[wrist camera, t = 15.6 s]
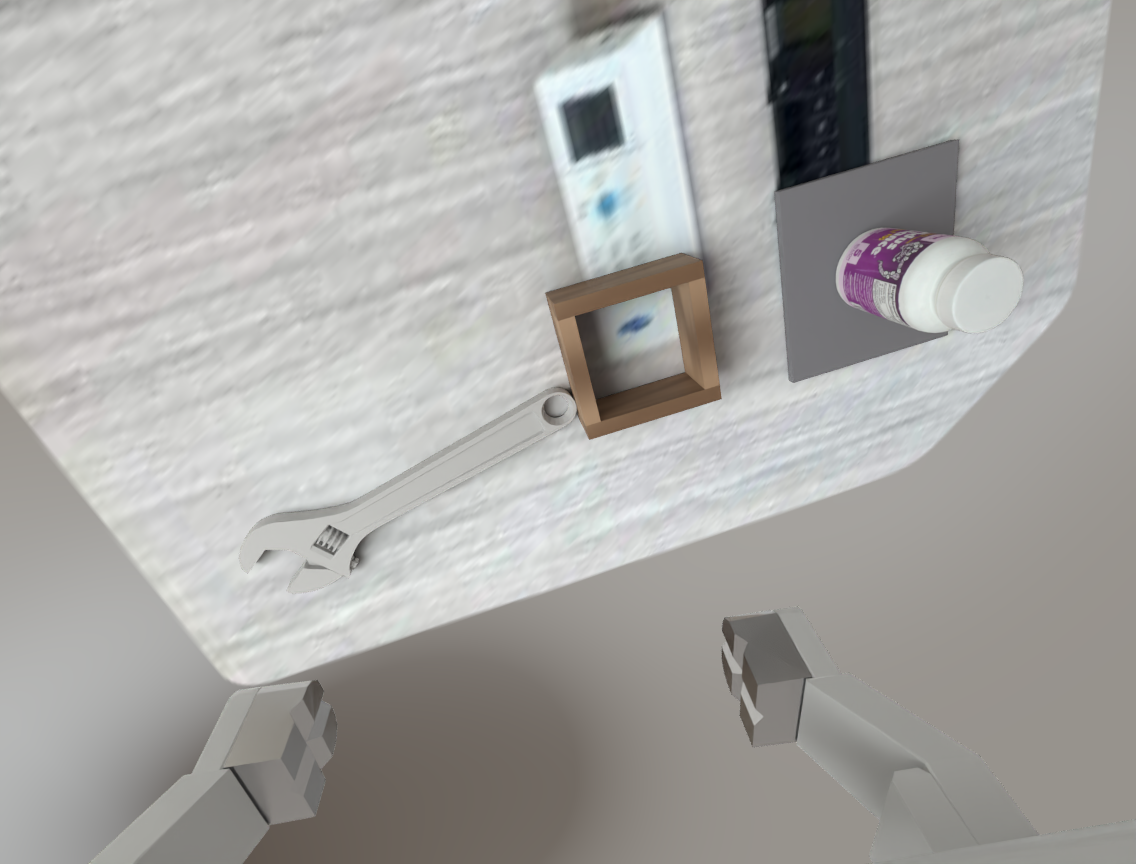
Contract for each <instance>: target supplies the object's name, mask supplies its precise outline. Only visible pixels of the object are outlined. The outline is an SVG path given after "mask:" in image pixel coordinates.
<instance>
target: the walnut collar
mask: <svg viewBox="0 0 1136 864" xmlns="http://www.w3.org/2000/svg"><path fill="white" fill-rule="evenodd" d="M668 288H671V289H672V295H673V301H674V307H675V313H676V319H677V326H678V332H679V338H680V344H681V350H682V356H683V362H684V368H685V373H682V374H678V375H675V376H672V377H669V378H665V379H662V380H659V381H655V382H652V383H649V384H646V385H642V386H639V387H636V388H633V389H629V390H626V391H623V392H620V393H616V394H613V395H610V396H606V397H603V398H600V399H597V400H595V396H594V392H593V388H592V384H591V380H590V376H589V372H588V368H587V364H586V360H585V356H584V352H583V348H582V344H581V340H580V336H579V332H578V328H577V324H576V320H575V316H577V315H580V314H584V313H587V312H590V311H594V310H597V309H600V308H604V307H607V306H610V305H614V304H617V303H621V302H624V301H627V300H631V299H634V298H637V297H641V296H644V295H647V294H651V293H654V292H657V291H661V290H664V289H668ZM545 294H546V297H547V301H548V305H549V308H550V312H551V316H552V320H553V323H554V327H555V331H556V335H557V338H558V342H559V346H560V349H561V353H562V357H563V361H564V364H565V368H566V372H567V376H568V379H569V383H570V387H571V390H572V394H573V398H574V401H575V403H576V406H577V413H578V417H579V420H580V422H581V424H582V426H583V428H584V430H585V432H586V434H587V436H588V438H589V440H590V439H594V438H597V437H600V436H603V435H607V434H610V433H613V432H616V431H619V430H623V429H626V428H629V427H632V426H636V425H639V424H642V423H645V422H649V421H652V420H655V419H658V418H661V417H665V416H668V415H671V414H674V413H678V412H681V411H684V410H687V409H690V408H694V407H697V406H700V405H703V404H707V403H710V402H713V401H716V400H720V399H722V398H721V391H720V384H719V377H718V369H717V362H716V355H715V348H714V340H713V333H712V326H711V319H710V311H709V304H708V297H707V290H706V282H705V275H704V268H703V261H702V260H700V259H697V258H694V257H691V256H689V255H686V254H683V253H679V254H676V255H672V256H669V257H666V258H662V259H659V260H655V261H652V262H649V263H645V264H642V265H638V266H635V267H632V268H628V269H625V270H621V271H618V272H615V273H611V274H608V275H604V276H601V277H598V278H594V279H591V280H588V281H584V282H581V283H577V284H574V285H571V286H567V287H564V288H560V289H557V290H554V291H550V292H547V293H545Z"/></svg>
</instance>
